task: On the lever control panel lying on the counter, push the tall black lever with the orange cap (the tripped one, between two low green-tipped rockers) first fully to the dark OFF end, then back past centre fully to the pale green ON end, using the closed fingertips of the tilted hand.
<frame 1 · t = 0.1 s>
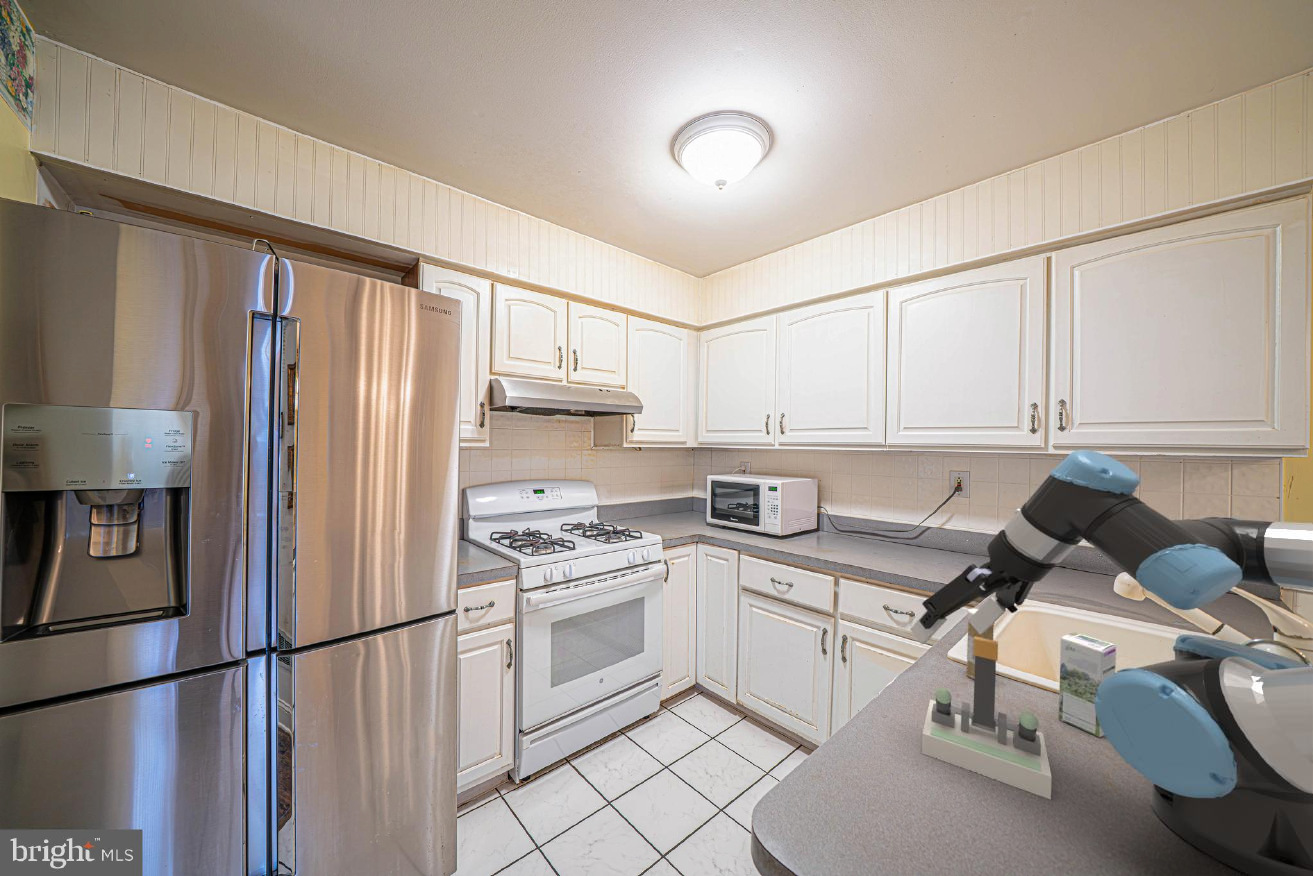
hand: (947, 631, 80), 15 cm above the countertop, tool tilted 35°, fingers open, 13 cm apart
sprinkles bottle: (979, 679, 96), on the countertop
syrup box: (1085, 726, 80), on the countertop
breaker lever: (984, 684, 72), point 10 cm above the countertop, hinge at 8.0°
lever control panel: (982, 752, 72), on the countertop
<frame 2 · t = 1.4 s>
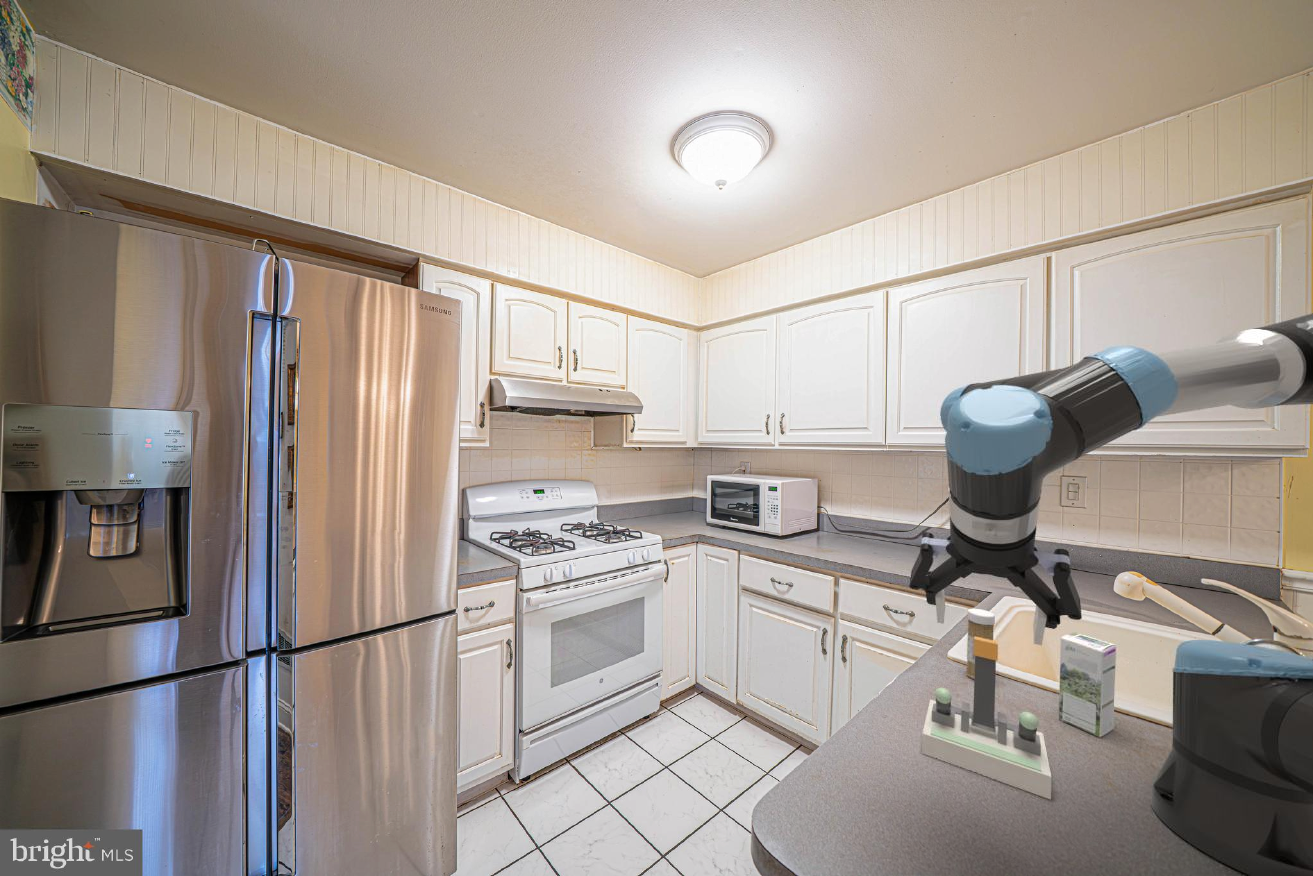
hand: (987, 623, 63), 23 cm above the countertop, tool tilted 45°, fingers open, 10 cm apart
nothing on the countertop moved.
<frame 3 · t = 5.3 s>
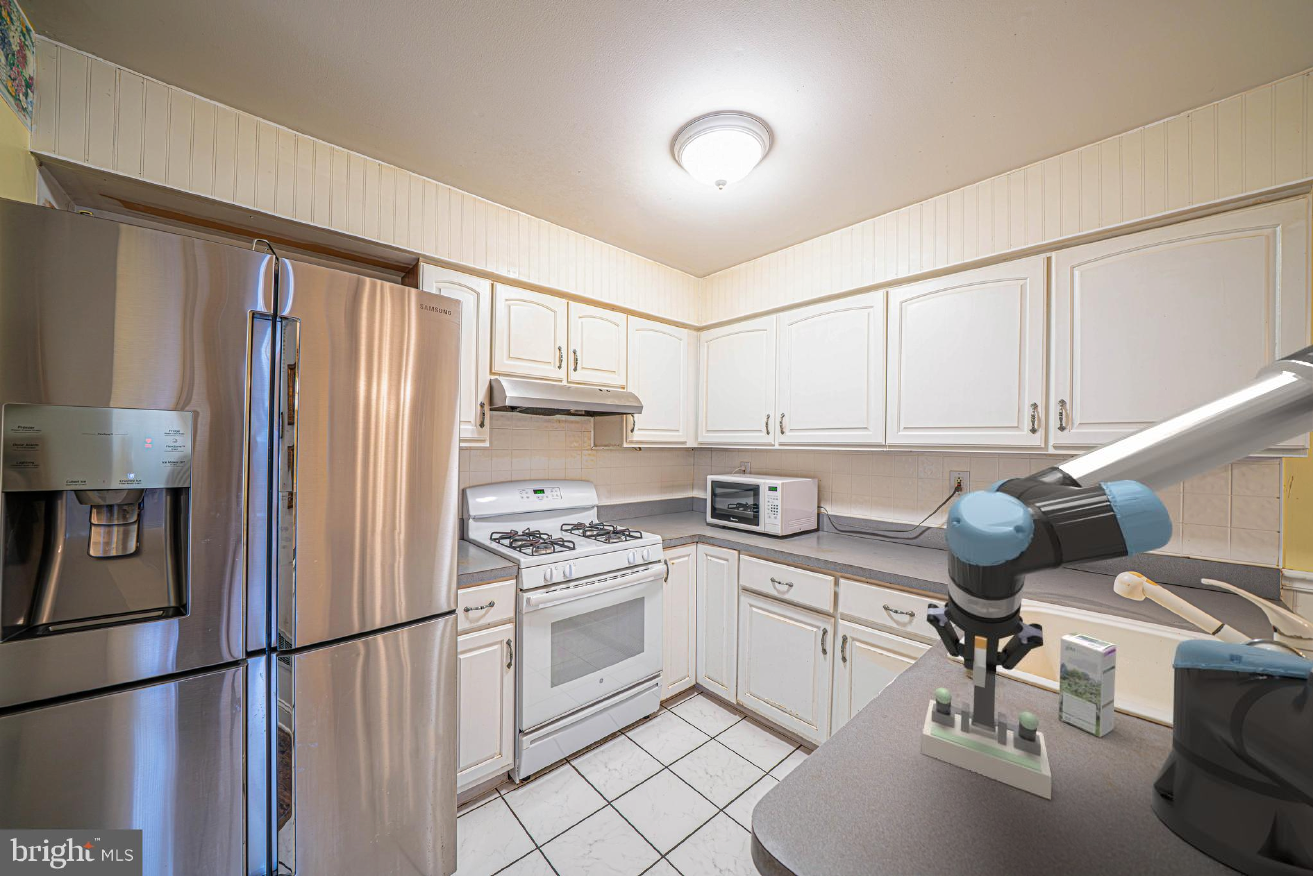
hand: (978, 677, 72), 11 cm above the countertop, tool tilted 45°, fingers closed
breaker lever: (984, 683, 73), point 10 cm above the countertop, hinge at 12.4°, touching gripper
everything else where it was.
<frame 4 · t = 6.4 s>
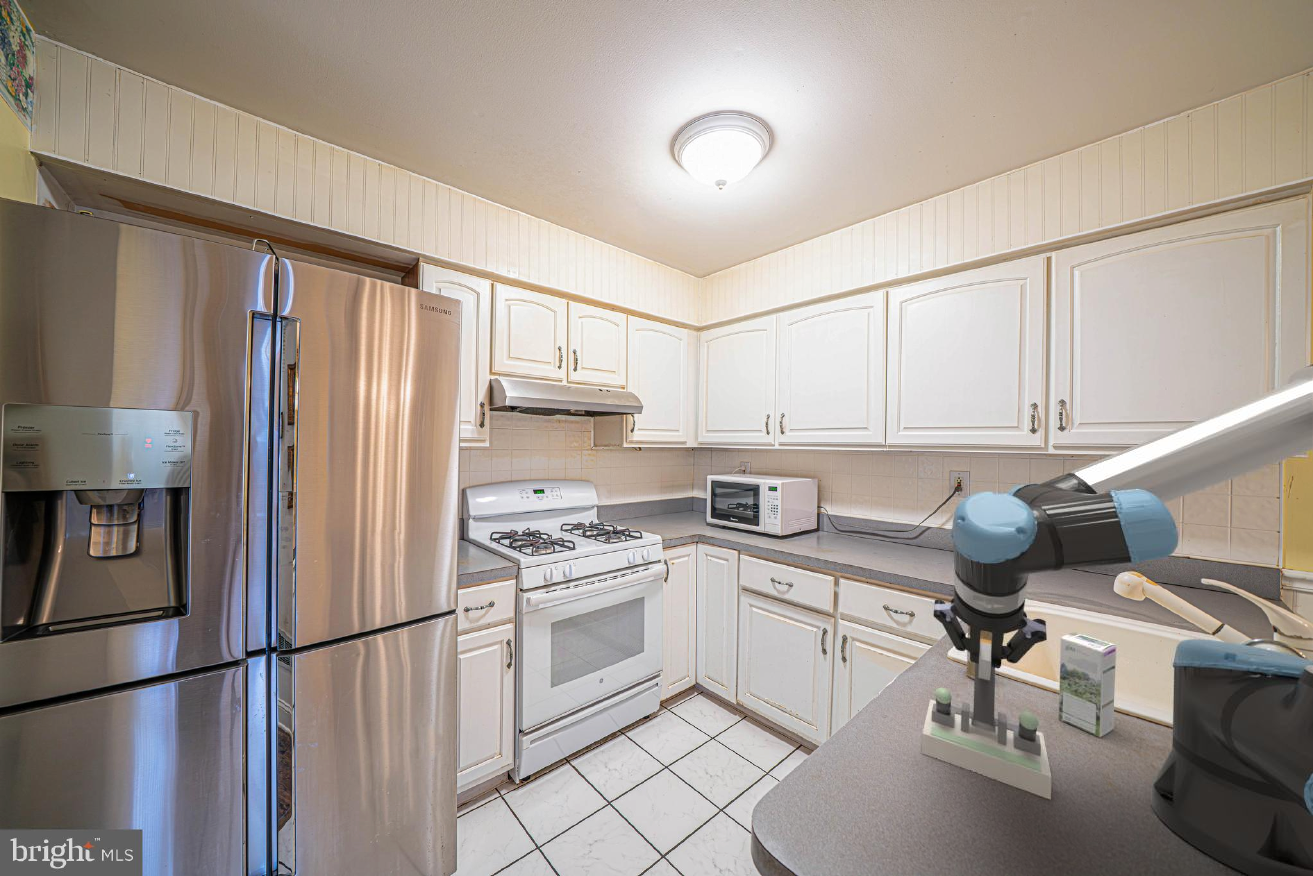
hand: (984, 670, 74), 12 cm above the countertop, tool tilted 45°, fingers closed
breaker lever: (984, 683, 74), point 9 cm above the countertop, hinge at 32.3°, touching gripper
everything else where it was.
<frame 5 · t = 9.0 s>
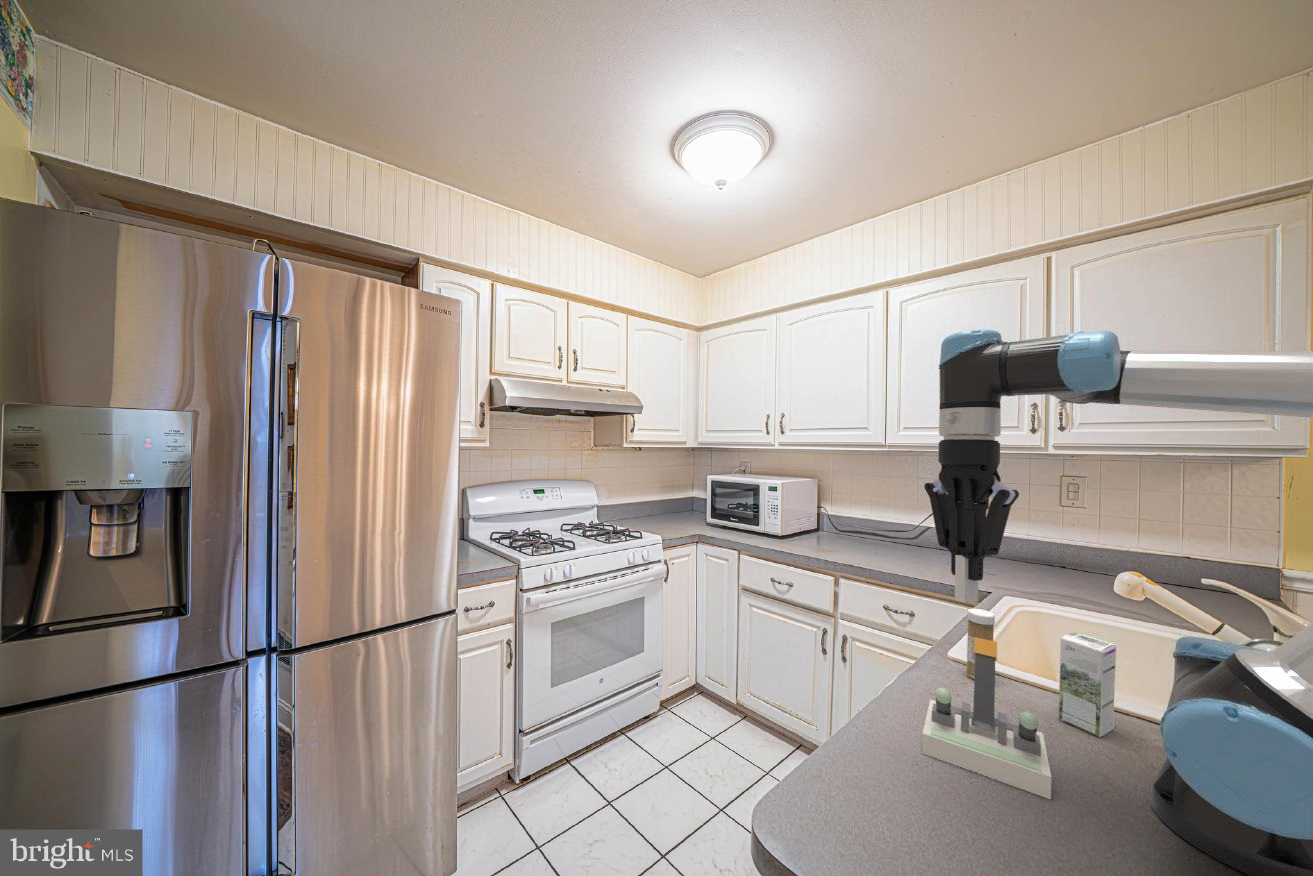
hand: (966, 600, 69), 24 cm above the countertop, tool pointing down, fingers closed
breaker lever: (984, 683, 74), point 9 cm above the countertop, hinge at 32.4°
everything else where it was.
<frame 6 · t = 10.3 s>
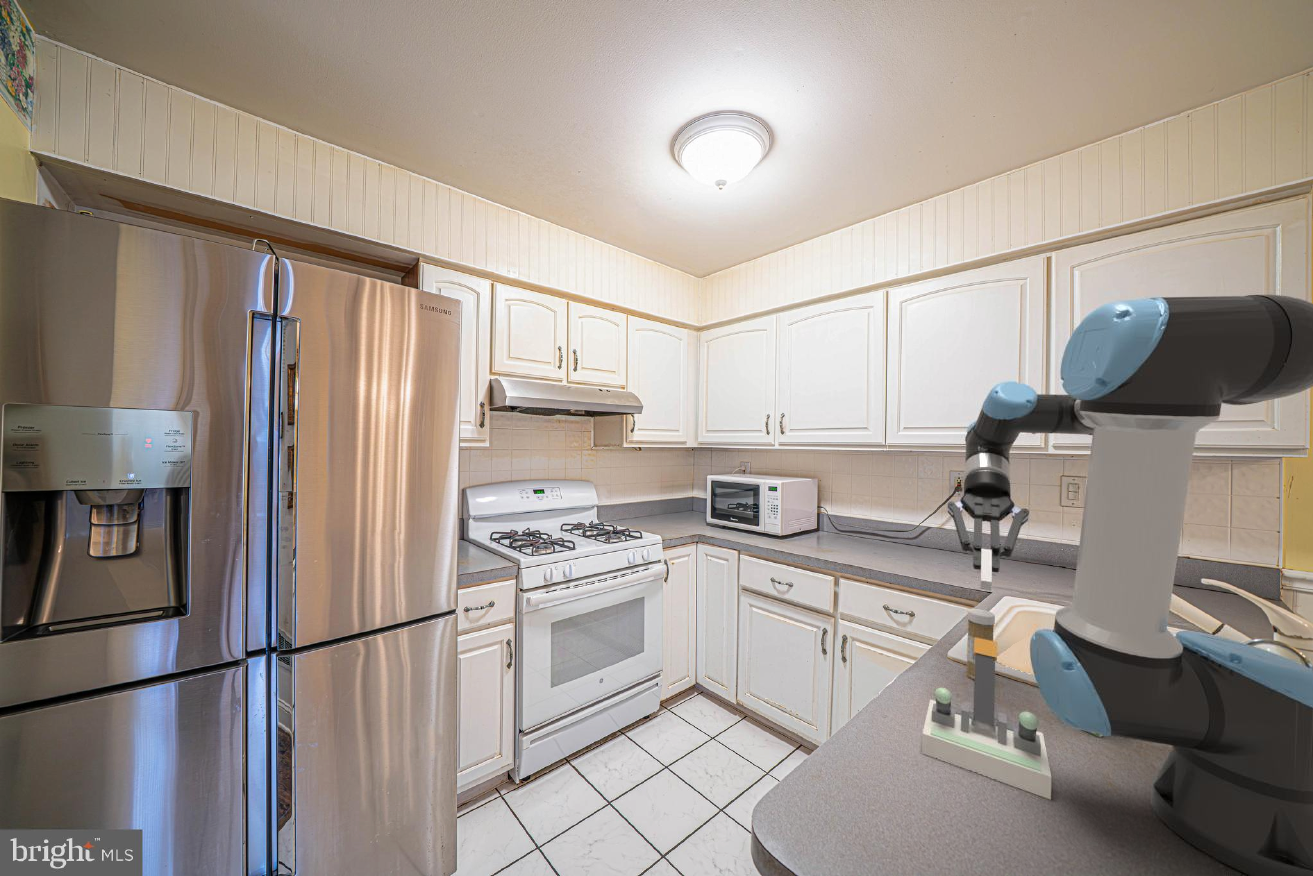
hand: (985, 585, 80), 23 cm above the countertop, tool tilted 45°, fingers closed
nothing on the countertop moved.
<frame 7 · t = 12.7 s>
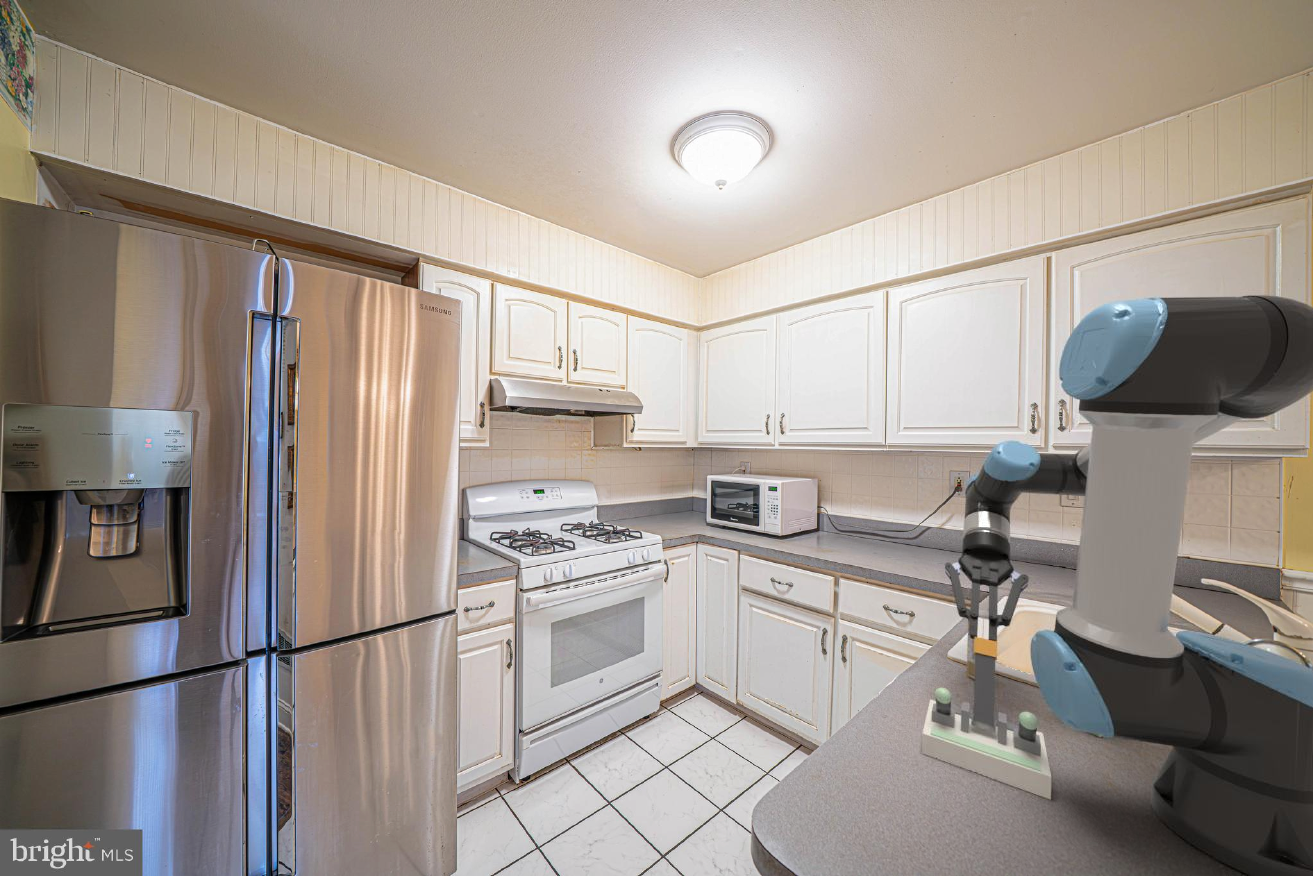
hand: (982, 658, 78), 12 cm above the countertop, tool tilted 45°, fingers closed
breaker lever: (984, 683, 74), point 9 cm above the countertop, hinge at 29.9°, touching gripper
everything else where it was.
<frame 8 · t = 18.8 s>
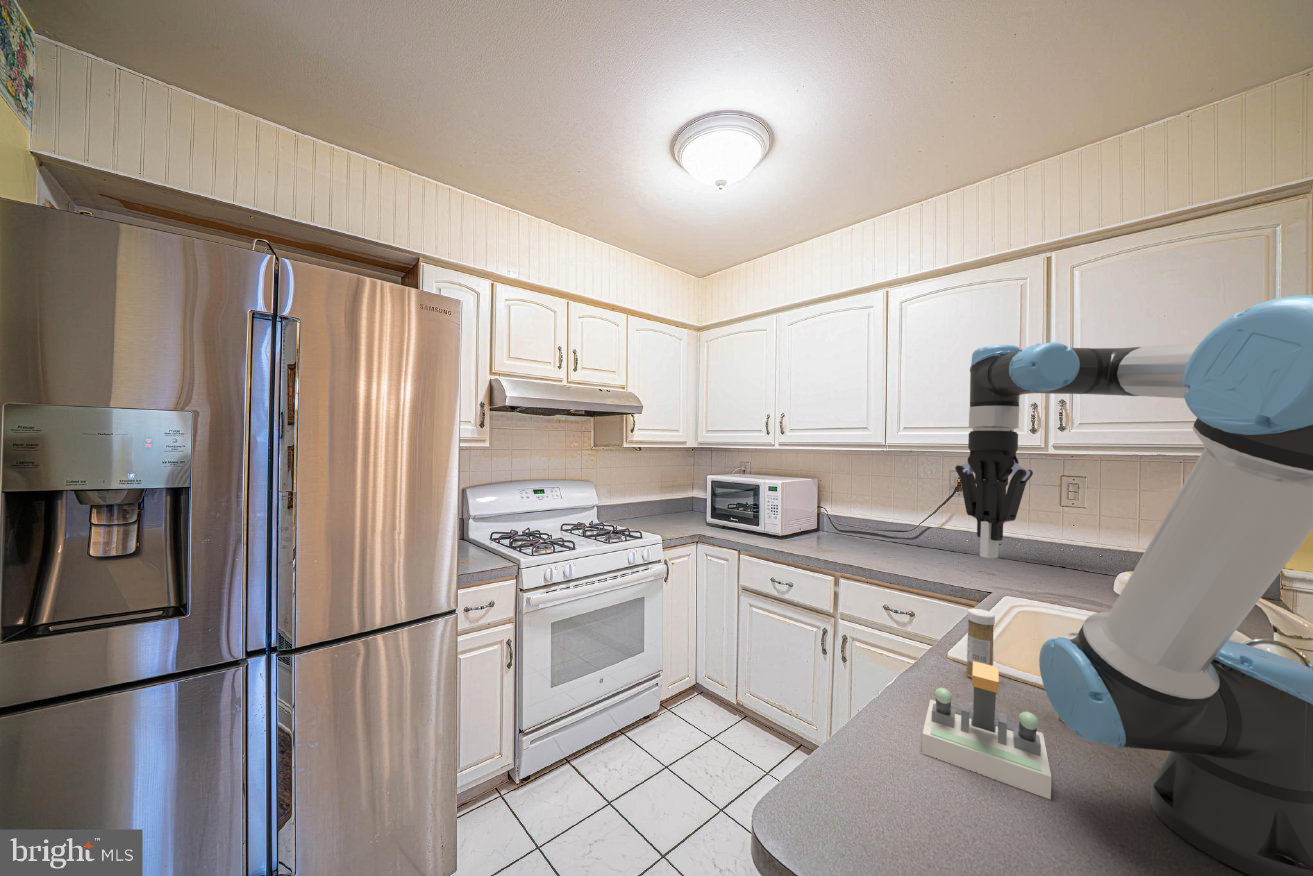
hand: (988, 556, 88), 26 cm above the countertop, tool pointing down, fingers closed
breaker lever: (984, 700, 69), point 9 cm above the countertop, hinge at -32.0°
everything else where it was.
at the end: breaker lever at -32° (first picture: +8°); breaker lever touching nothing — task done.
